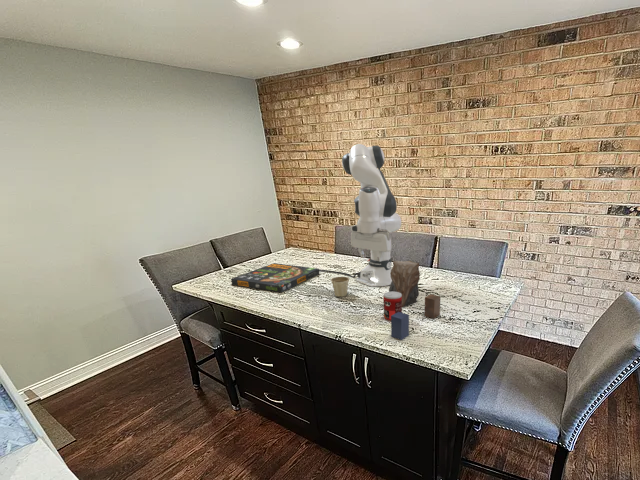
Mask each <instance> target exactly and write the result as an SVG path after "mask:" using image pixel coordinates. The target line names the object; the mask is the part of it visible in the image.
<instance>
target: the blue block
mask: <svg viewBox="0 0 640 480" xmlns="http://www.w3.org/2000/svg"><path fill="white" fill-rule="evenodd" d="M390 328H391V329H390V334H391V335H390V336H391V338H395V339H397V340H400V341H402V340H405V338H407V337H409V336H410V314H408V313H405V312H402V313H401V312H397V313H395V314H394V315H392V316H391V321H390Z"/></svg>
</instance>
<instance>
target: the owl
mask: <svg viewBox="0 0 640 480" xmlns="http://www.w3.org/2000/svg"><path fill="white" fill-rule="evenodd" d="M392 264H393V265H392V266H391V273H390V274H391V276H390V277H391V279H392V282H391V285H389V287H388V292H392V291H393V292H399V293H401V294H402V308H405V307H407V306H409V305H412V304H414V303H416V302H417V301H418V300H417V299H418V297H419V295H420V292H419V281H420V279H421V277H420V276H421V271H420V269H419V267H420V262H415V261H412V260H406V261H405V260H402V261H400V260H393V261H392Z"/></svg>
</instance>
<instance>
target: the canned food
mask: <svg viewBox="0 0 640 480" xmlns="http://www.w3.org/2000/svg"><path fill="white" fill-rule="evenodd" d="M382 299H383V317H384V320H387V321H390V322H391V316H392V315H394V314H395V313H397V312H401V313H403V307H402V294H401V293H399V292H393V291H392V292H389V291H386V292H384V293H383V298H382Z"/></svg>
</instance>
